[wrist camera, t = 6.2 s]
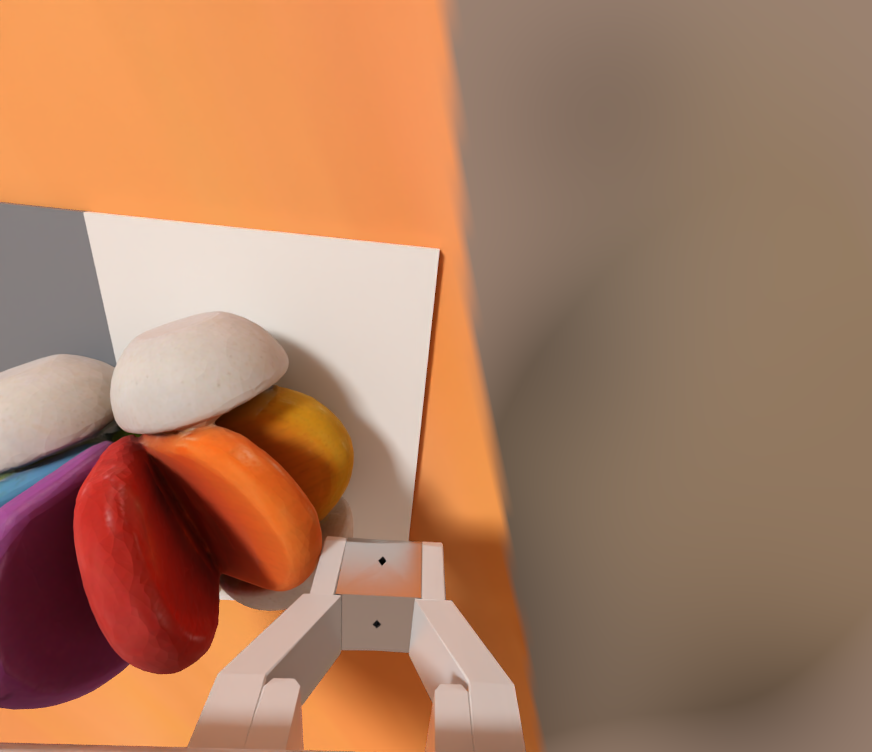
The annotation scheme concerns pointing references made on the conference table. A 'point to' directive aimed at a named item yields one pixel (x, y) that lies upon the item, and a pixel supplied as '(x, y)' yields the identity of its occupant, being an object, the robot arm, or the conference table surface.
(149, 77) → the conference table surface
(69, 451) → the rainbow segmented toy
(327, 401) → the game mat
